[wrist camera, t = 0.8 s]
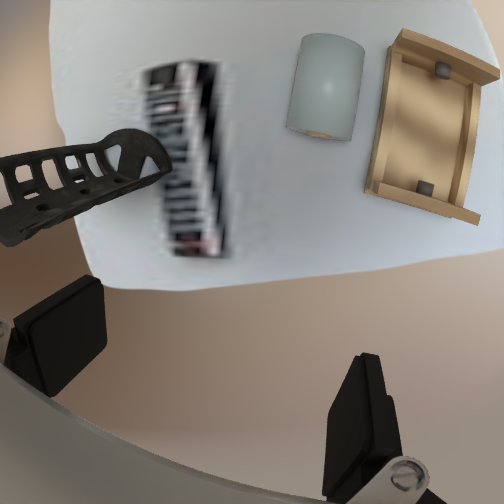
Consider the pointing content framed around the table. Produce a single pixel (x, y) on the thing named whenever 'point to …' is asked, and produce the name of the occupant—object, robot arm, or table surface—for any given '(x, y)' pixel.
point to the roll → (326, 87)
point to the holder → (74, 194)
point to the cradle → (428, 125)
